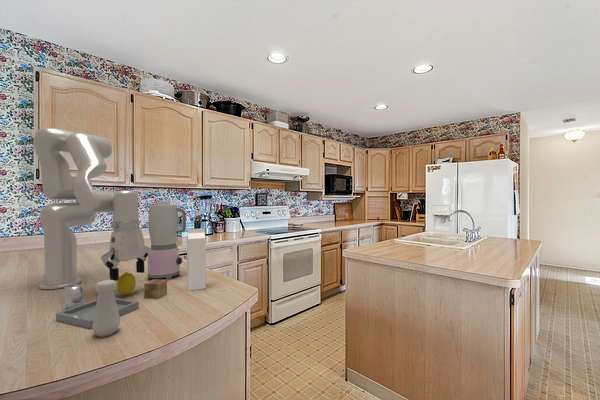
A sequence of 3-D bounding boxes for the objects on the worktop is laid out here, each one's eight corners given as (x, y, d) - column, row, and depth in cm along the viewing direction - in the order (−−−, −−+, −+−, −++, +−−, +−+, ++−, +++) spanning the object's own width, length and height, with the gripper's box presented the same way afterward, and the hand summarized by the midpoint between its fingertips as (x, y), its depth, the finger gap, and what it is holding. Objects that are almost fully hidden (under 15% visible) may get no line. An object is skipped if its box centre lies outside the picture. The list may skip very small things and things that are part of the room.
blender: (141, 281, 112) (140, 201, 112) (157, 272, 125) (156, 201, 124) (180, 281, 112) (179, 201, 112) (192, 272, 124) (191, 201, 124)
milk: (187, 286, 106) (186, 228, 106) (204, 284, 109) (203, 227, 109) (188, 291, 101) (187, 230, 100) (206, 288, 103) (205, 229, 103)
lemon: (127, 298, 93) (126, 274, 93) (113, 297, 94) (112, 274, 94) (139, 293, 99) (139, 270, 99) (126, 292, 100) (125, 269, 100)
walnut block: (144, 298, 94) (144, 283, 94) (153, 293, 99) (153, 279, 98) (158, 299, 93) (158, 284, 93) (166, 293, 98) (166, 279, 98)
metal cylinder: (61, 311, 83) (61, 287, 83) (77, 305, 88) (77, 283, 87) (71, 313, 82) (70, 289, 82) (87, 307, 86) (86, 284, 86)
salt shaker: (102, 327, 73) (101, 277, 72) (125, 326, 73) (124, 277, 73) (86, 339, 67) (86, 285, 67) (112, 338, 67) (111, 284, 67)
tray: (55, 320, 77) (55, 313, 77) (106, 302, 90) (106, 296, 90) (90, 328, 72) (90, 321, 72) (138, 308, 85) (138, 301, 85)
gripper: (109, 229, 87) (111, 284, 87) (155, 224, 103) (157, 270, 103) (92, 229, 89) (94, 282, 89) (140, 224, 105) (141, 269, 106)
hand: (128, 276), depth 96 cm, fingers open, 9 cm apart
